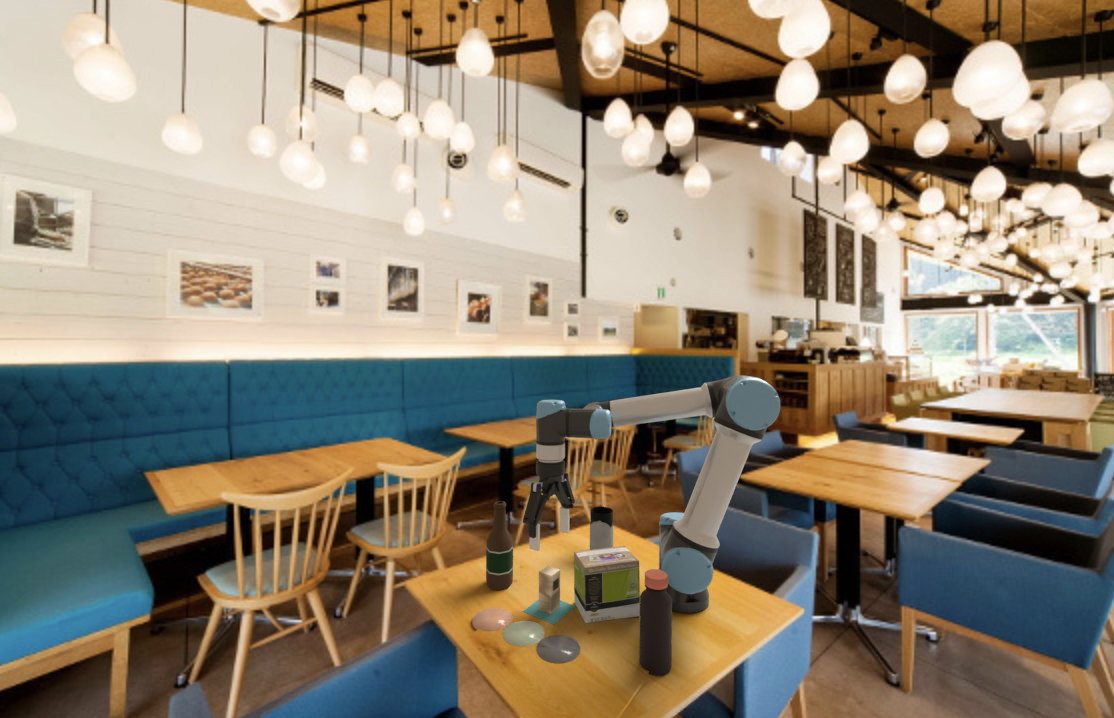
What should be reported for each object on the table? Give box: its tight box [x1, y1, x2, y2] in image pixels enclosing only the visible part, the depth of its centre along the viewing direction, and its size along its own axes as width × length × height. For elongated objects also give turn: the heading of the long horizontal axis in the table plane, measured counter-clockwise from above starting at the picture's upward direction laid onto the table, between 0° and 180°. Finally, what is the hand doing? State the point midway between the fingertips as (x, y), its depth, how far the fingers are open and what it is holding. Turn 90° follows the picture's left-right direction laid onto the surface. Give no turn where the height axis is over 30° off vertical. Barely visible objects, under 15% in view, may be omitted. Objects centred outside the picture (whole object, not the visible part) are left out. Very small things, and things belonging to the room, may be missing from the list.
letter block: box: [538, 565, 561, 614], centre depth 120 cm, size 4×4×10 cm
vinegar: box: [638, 568, 673, 677], centre depth 99 cm, size 7×7×20 cm
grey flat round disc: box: [535, 634, 581, 664], centre depth 104 cm, size 10×10×1 cm
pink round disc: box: [471, 607, 514, 632], centre depth 116 cm, size 10×10×1 cm
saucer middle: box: [502, 620, 546, 647], centre depth 110 cm, size 10×10×1 cm
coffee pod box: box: [573, 545, 641, 624], centre depth 121 cm, size 15×10×15 cm, turn 104°
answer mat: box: [522, 599, 576, 625], centre depth 120 cm, size 10×10×1 cm
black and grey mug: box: [589, 505, 614, 550], centre depth 157 cm, size 9×14×15 cm, turn 164°
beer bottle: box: [485, 500, 514, 591], centre depth 134 cm, size 8×8×24 cm
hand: (550, 540), depth 120 cm, fingers open, 13 cm apart
